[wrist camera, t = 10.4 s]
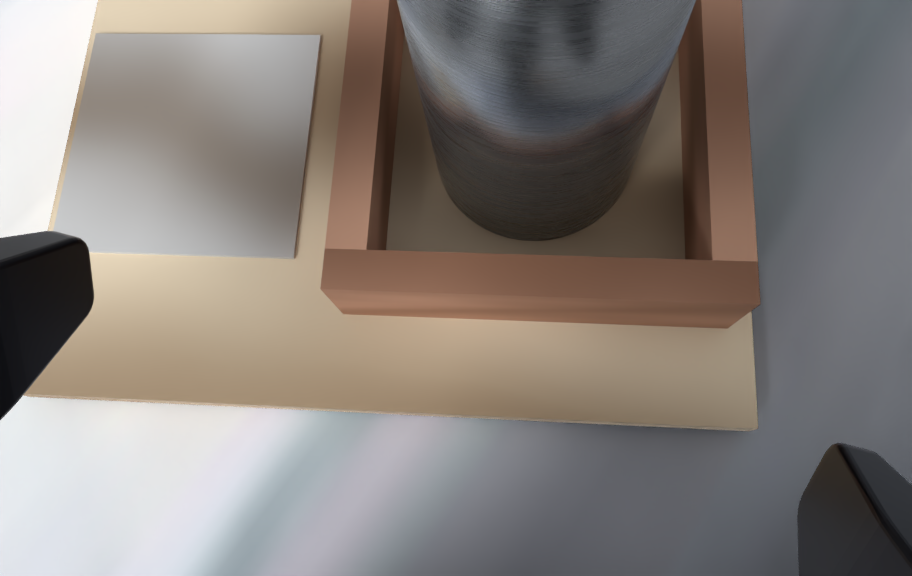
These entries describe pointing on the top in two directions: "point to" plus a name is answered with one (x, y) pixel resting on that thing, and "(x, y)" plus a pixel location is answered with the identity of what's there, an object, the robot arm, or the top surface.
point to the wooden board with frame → (388, 234)
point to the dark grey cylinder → (539, 102)
